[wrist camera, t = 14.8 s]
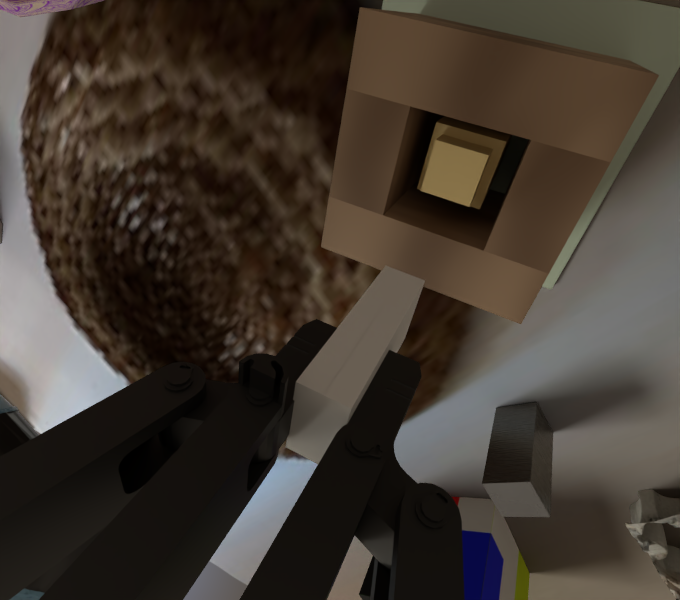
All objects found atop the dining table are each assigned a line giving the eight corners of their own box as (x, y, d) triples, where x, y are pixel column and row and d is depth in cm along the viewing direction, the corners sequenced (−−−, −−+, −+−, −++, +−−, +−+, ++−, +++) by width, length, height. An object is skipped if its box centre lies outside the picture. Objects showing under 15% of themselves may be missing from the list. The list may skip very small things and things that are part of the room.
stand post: (512, 437, 33) (501, 516, 28) (496, 407, 32) (482, 483, 27) (553, 432, 31) (550, 517, 26) (536, 401, 30) (530, 481, 25)
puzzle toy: (496, 498, 37) (477, 620, 30) (529, 572, 40) (520, 700, 33) (396, 492, 43) (358, 594, 35) (432, 558, 46) (405, 664, 38)
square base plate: (345, 212, 29) (290, 258, 23) (394, -46, 21) (328, -74, 15) (551, 286, 26) (547, 361, 20) (707, 13, 18) (777, 6, 12)
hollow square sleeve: (376, 197, 27) (320, 246, 21) (419, 13, 21) (360, 7, 15) (532, 251, 25) (520, 324, 19) (629, 60, 19) (659, 75, 13)
